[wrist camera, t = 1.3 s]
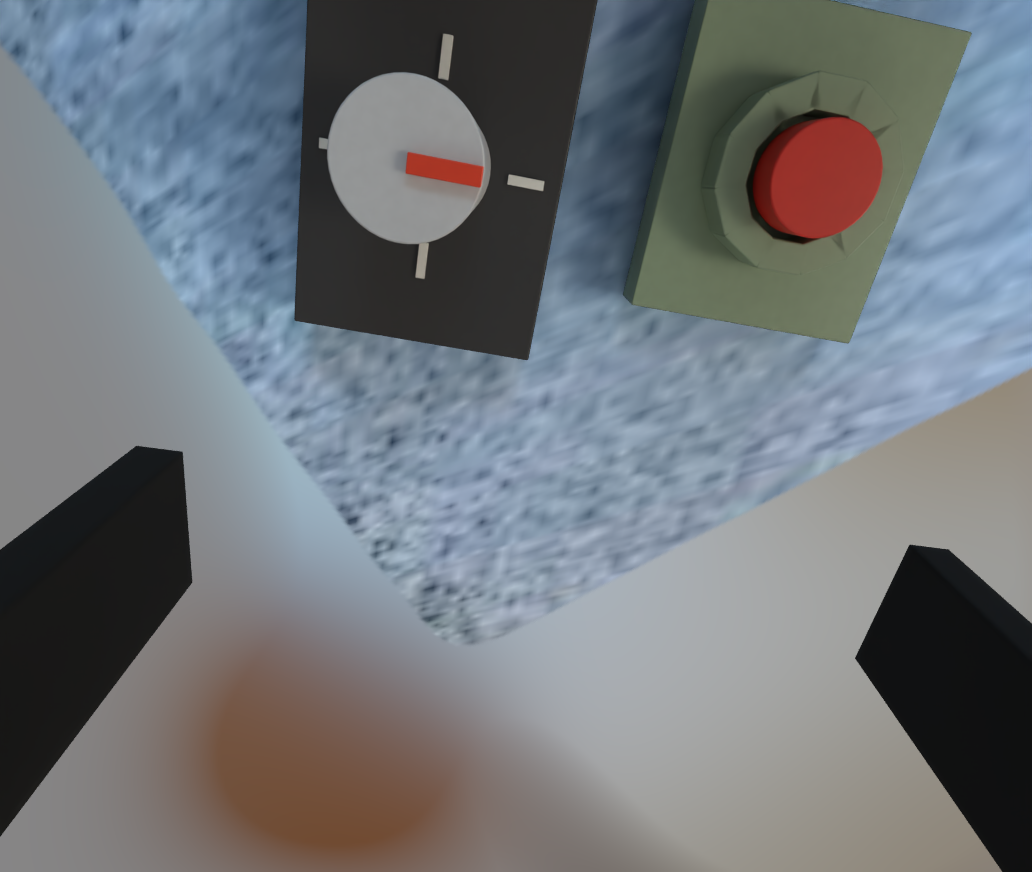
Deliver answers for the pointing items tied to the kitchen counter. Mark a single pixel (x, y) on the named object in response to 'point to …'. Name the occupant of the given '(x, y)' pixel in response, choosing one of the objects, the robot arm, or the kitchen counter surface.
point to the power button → (818, 177)
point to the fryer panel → (513, 177)
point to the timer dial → (407, 158)
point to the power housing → (745, 135)
